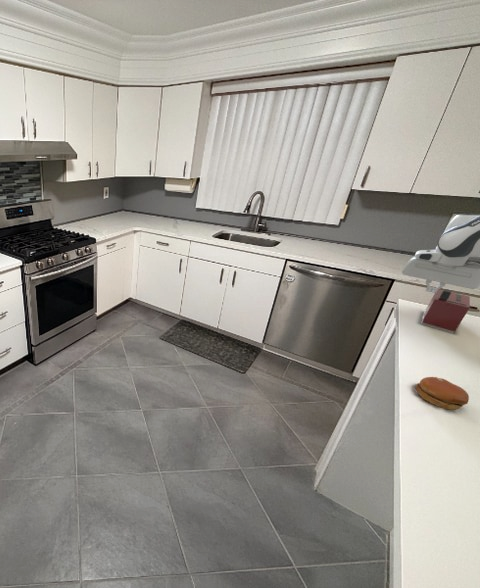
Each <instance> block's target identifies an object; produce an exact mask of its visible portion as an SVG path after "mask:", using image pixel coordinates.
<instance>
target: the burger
mask: <svg viewBox="0 0 480 588" xmlns="http://www.w3.org/2000/svg"><path fill="white" fill-rule="evenodd" d="M415 389H416V392H417V393H418V395H419V396H420V397H421V398H422V399H423V400H425V401H426V402H428V403H430V404H433V405H434V406H436V407H438V408H442V409H446V410H449V411H456V410H458V409H461V408H462V407H463V406H465V405H467V404H468V403H469V400H470V396H469V393H468V392H467V391H466V390H465V389H464V388H462V387H461V386H459V385H457V384H454V383H452V382H451V381H449V380H447V379H445V378H442V377H438V376H426V377H423V378H421V379H420V381H419V383H418V382H417V384H415Z"/></svg>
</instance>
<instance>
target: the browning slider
mask: <svg viewBox="0 0 480 588" xmlns="http://www.w3.org/2000/svg"><path fill="white" fill-rule="evenodd" d="M451 292H452V291H451V290H449V289H448V290H447V289H443V292H442V293H441V295H440V297H439V299H443V300H447V299H448V297H449V296H450V294H451Z"/></svg>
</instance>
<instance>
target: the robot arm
mask: <svg viewBox="0 0 480 588" xmlns="http://www.w3.org/2000/svg"><path fill="white" fill-rule="evenodd" d="M469 258H480V213H460V214H457V215H455V216H454V217H452V219H451V220H450V221H449V223H448V224H447V226H446V227H445V229H444V231H443V233H442V234H441V235H440V236H439V238H438V239H437V245H436V246H435V249H420V250H417V251H416V252H415V254H414V256H412V257H411V258H410V259H409V260H408V261H407V262H406V264H405V265H404V267H403V269H402V270H401V273H402V275H404V276H408V277H412V278H417V279H423V280H425V285H426V288H425V292H429V293H434V294H435V293H436V292H437V290H438V289H439V290H441V289H442V288H444V287H446V285H449V286H450V285H452V286H455V287H460V288H465V289H468V290H469V289H470V290H475V289H478V288H479V287H480V262H476V261H472V260H471V261H470V260H469ZM432 282H437V283H439V285H438V286H436V287H435V286H432V285H431V283H432Z"/></svg>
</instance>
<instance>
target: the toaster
mask: <svg viewBox="0 0 480 588" xmlns="http://www.w3.org/2000/svg"><path fill="white" fill-rule="evenodd" d="M443 290H444V289H443ZM443 290H442V289H438V290H437V292H436V293H434V294H433V296H432V297H431V300H430V301H429V303H428V305H427V307H426V308H425V310H424V311H423V314H422V318H421V321H420V325H422V326H427V327H430V328H433V329H437V330H439V331H440V330H441V331H443V332H447V333H451V334H455V333H456V331H457V329H458V328H459V326H460V324H461V323H462V321H463V319H464V318H465V316H466V315H467V313H468V312H469V310H470V308H471V298H470V297H471V296H469V295H465V294H461V293H457V292H452V291H451V294H450V296H449V297H448V299H447V300H443V299H439V297H440V295H441V293H442V292H443Z"/></svg>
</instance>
